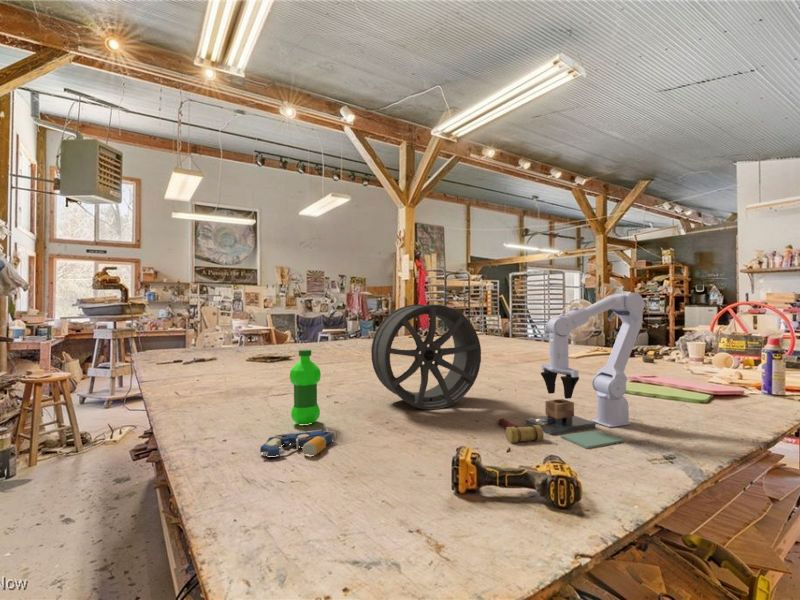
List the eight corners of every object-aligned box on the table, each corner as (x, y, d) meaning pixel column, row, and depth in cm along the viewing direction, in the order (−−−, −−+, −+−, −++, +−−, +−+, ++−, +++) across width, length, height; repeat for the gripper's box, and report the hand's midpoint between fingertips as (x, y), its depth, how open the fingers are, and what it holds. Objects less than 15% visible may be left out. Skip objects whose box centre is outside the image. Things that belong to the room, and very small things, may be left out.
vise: (567, 417, 142) (567, 397, 142) (595, 427, 130) (595, 406, 130) (524, 424, 135) (523, 403, 135) (549, 435, 124) (549, 412, 124)
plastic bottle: (283, 426, 135) (283, 351, 135) (302, 417, 145) (302, 347, 145) (309, 429, 131) (308, 352, 131) (326, 420, 141) (326, 348, 141)
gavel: (484, 414, 137) (511, 412, 139) (484, 428, 137) (512, 426, 138) (511, 429, 116) (543, 426, 118) (512, 445, 116) (544, 442, 118)
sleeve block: (562, 412, 136) (562, 398, 136) (574, 416, 132) (573, 402, 132) (545, 414, 134) (545, 400, 134) (556, 418, 129) (556, 404, 129)
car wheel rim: (385, 414, 148) (384, 305, 148) (371, 402, 166) (370, 304, 166) (481, 404, 160) (480, 304, 161) (458, 394, 179) (457, 303, 179)
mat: (596, 431, 126) (595, 429, 126) (623, 442, 117) (623, 439, 117) (560, 437, 121) (560, 435, 121) (586, 448, 112) (586, 446, 112)
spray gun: (340, 455, 110) (333, 438, 124) (340, 439, 110) (333, 424, 124) (259, 467, 104) (261, 448, 118) (258, 450, 104) (261, 433, 118)
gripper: (534, 352, 138) (534, 392, 138) (565, 357, 125) (566, 401, 124) (550, 351, 141) (551, 390, 141) (583, 356, 127) (584, 399, 127)
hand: (559, 395), depth 133 cm, fingers open, 7 cm apart
